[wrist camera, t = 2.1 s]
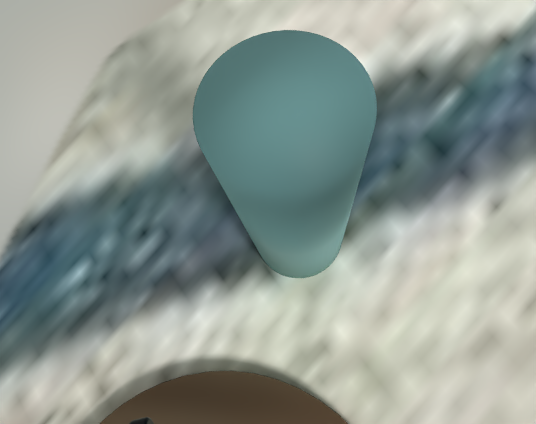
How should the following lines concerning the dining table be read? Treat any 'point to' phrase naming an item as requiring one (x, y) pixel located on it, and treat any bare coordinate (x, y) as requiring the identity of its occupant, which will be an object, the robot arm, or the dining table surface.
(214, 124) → the teal peg
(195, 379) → the walnut stand
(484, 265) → the dining table surface
